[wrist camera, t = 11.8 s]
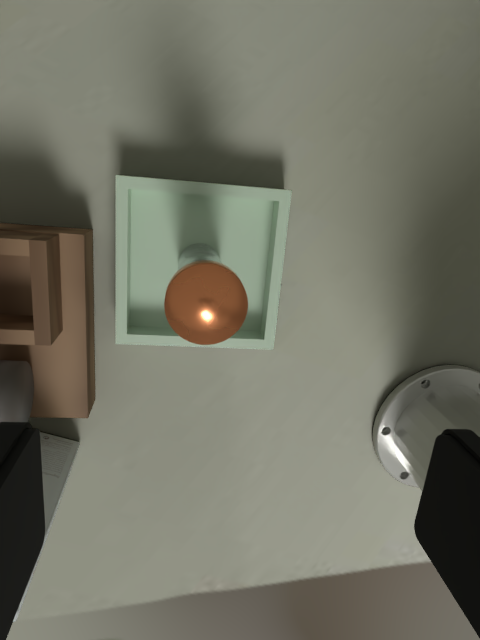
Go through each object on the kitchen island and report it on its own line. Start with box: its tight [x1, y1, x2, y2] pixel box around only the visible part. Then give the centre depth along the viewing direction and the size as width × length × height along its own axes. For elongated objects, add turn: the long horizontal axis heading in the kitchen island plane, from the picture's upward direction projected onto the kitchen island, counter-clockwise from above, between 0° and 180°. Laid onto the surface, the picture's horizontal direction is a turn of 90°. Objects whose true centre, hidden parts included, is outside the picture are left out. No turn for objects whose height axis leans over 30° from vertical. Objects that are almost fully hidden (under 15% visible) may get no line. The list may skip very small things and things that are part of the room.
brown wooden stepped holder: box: [0, 223, 95, 422], centre depth 30 cm, size 10×14×8 cm
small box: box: [13, 432, 80, 622], centre depth 34 cm, size 8×6×10 cm
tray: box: [116, 175, 292, 350], centre depth 33 cm, size 12×12×2 cm
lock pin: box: [164, 243, 248, 345], centre depth 29 cm, size 4×4×11 cm
